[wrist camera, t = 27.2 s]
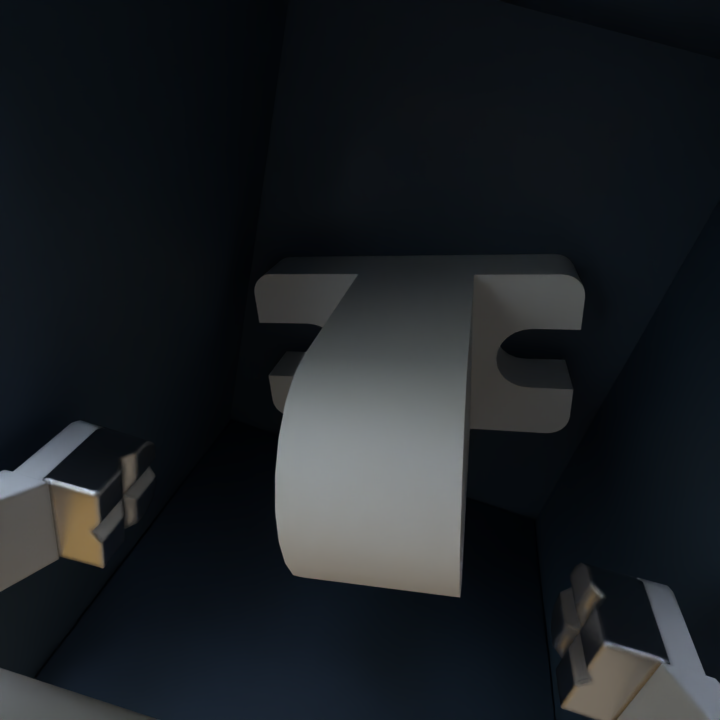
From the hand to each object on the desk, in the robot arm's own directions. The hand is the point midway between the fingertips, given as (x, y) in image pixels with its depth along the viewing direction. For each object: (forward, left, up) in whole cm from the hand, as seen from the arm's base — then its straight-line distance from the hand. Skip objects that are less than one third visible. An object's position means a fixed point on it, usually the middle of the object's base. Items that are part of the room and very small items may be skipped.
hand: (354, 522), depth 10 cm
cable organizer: (0, 0, -10) cm, 10 cm away
